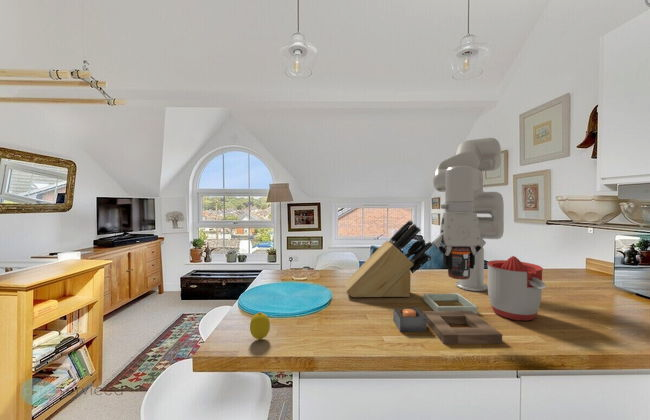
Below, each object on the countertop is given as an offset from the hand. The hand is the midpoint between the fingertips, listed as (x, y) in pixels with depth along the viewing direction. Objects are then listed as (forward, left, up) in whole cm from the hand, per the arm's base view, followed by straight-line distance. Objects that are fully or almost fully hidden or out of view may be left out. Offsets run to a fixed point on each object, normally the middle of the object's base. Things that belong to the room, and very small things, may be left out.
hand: (458, 267), depth 82 cm
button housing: (-3, -14, -19) cm, 24 cm away
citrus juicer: (-10, +24, -19) cm, 32 cm away
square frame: (0, 0, -19) cm, 19 cm away
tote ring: (-18, +5, -19) cm, 27 cm away
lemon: (+5, -59, -19) cm, 62 cm away
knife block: (-33, -14, -19) cm, 41 cm away
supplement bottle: (0, 0, -3) cm, 3 cm away
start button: (-3, -14, -19) cm, 23 cm away
